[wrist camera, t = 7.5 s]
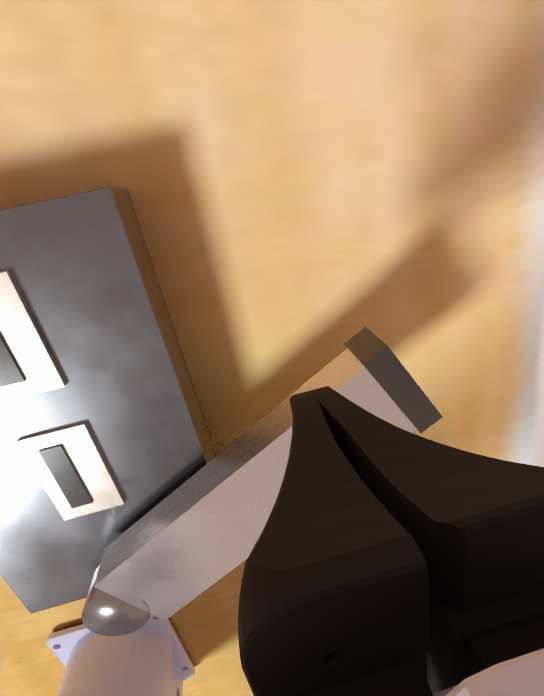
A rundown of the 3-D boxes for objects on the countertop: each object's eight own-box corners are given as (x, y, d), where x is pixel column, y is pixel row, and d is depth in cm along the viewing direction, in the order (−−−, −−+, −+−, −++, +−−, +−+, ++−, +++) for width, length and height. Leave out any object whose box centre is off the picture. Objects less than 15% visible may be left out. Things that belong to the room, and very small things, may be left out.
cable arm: (139, 607, 21) (132, 651, 19) (67, 572, 19) (51, 617, 17) (416, 392, 18) (442, 416, 16) (365, 326, 16) (387, 345, 14)
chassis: (235, 512, 24) (239, 558, 21) (51, 563, 23) (28, 619, 20) (126, 188, 16) (107, 187, 13) (-165, 250, 15) (-259, 264, 12)
